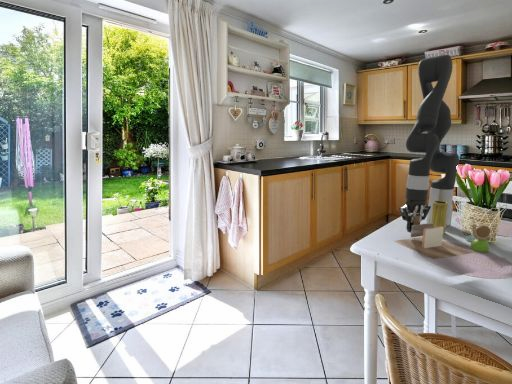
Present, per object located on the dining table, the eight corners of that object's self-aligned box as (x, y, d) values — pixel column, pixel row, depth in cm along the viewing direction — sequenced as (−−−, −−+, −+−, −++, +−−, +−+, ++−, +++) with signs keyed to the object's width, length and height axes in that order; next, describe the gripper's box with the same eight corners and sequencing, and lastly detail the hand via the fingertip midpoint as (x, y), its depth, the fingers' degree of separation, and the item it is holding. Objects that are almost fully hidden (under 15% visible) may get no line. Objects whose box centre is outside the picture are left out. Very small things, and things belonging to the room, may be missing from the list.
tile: (438, 244, 117) (440, 226, 116) (441, 245, 116) (443, 227, 114) (421, 247, 114) (423, 228, 113) (424, 248, 113) (426, 229, 112)
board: (429, 239, 127) (429, 236, 126) (472, 256, 110) (473, 252, 110) (393, 244, 121) (393, 240, 120) (432, 263, 104) (433, 258, 104)
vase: (447, 238, 128) (451, 204, 125) (430, 237, 129) (435, 203, 126) (441, 233, 134) (446, 200, 131) (426, 232, 135) (430, 200, 132)
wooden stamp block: (399, 232, 123) (401, 214, 122) (419, 229, 126) (421, 212, 125) (411, 237, 117) (413, 219, 116) (432, 234, 120) (434, 216, 119)
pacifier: (461, 245, 122) (480, 247, 119) (462, 229, 120) (481, 231, 118) (460, 239, 128) (478, 241, 125) (461, 224, 127) (479, 226, 124)
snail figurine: (463, 250, 115) (468, 218, 113) (481, 250, 115) (486, 219, 113) (473, 256, 110) (478, 223, 108) (492, 256, 110) (497, 223, 107)
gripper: (423, 184, 125) (418, 226, 129) (395, 186, 121) (391, 229, 124) (440, 187, 118) (434, 232, 122) (410, 189, 114) (405, 235, 117)
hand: (412, 230), depth 123 cm, fingers closed on wooden stamp block, 2 cm apart
